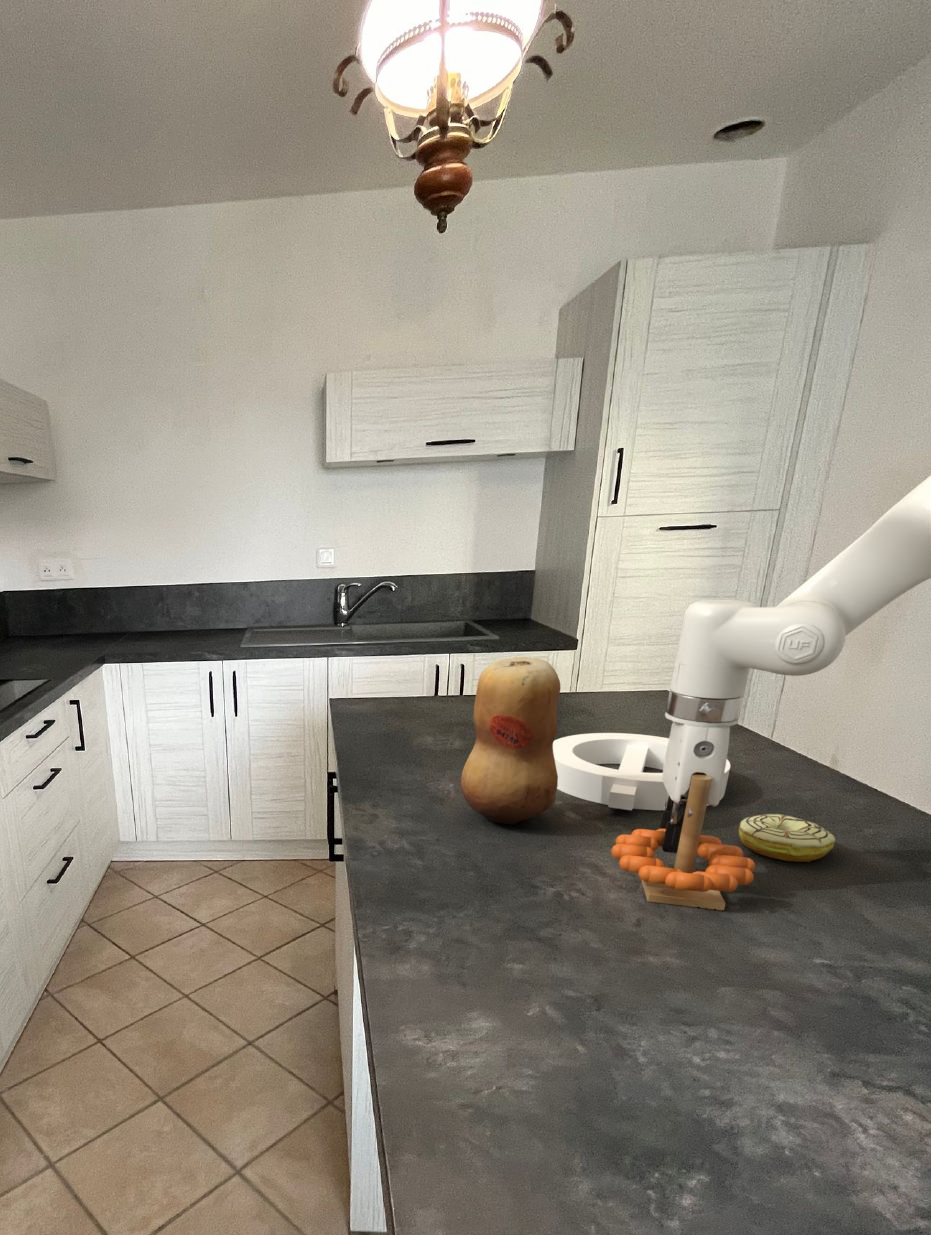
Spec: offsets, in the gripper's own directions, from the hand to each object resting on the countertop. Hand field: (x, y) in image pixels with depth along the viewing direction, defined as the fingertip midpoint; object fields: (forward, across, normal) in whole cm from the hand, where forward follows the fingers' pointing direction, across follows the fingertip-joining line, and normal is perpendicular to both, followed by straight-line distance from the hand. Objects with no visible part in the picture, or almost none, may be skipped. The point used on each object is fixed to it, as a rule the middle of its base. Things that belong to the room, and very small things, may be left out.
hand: (674, 845), depth 93 cm
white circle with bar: (+4, +36, +1) cm, 37 cm away
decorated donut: (+4, +12, -15) cm, 20 cm away
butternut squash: (+4, +12, +21) cm, 24 cm away
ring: (+1, -5, 0) cm, 5 cm away
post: (+4, -6, 0) cm, 7 cm away
